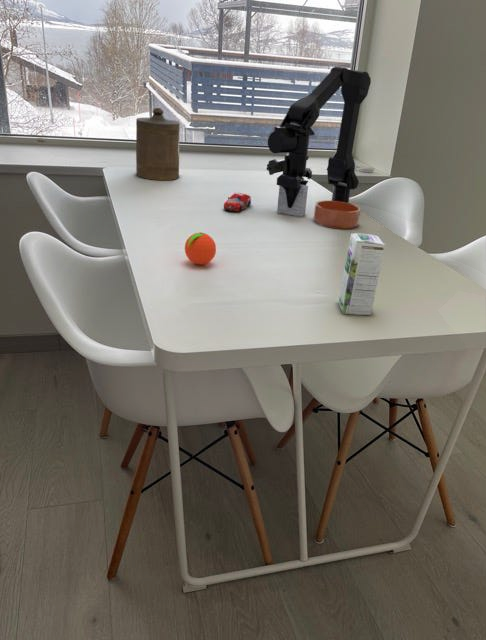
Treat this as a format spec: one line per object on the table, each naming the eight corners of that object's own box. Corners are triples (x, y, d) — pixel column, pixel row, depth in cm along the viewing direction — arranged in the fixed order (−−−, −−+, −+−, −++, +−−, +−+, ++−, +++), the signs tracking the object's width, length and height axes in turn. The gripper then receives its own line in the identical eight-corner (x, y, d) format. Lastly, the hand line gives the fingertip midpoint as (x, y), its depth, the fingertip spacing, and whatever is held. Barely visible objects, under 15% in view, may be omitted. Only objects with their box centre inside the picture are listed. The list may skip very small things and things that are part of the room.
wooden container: (187, 177, 209) (188, 110, 198) (159, 182, 198) (159, 111, 187) (156, 169, 215) (156, 104, 204) (127, 174, 204) (125, 105, 193)
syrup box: (337, 303, 118) (349, 232, 111) (365, 304, 119) (379, 234, 112) (342, 314, 113) (355, 241, 106) (372, 316, 114) (386, 243, 107)
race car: (237, 214, 171) (238, 200, 169) (220, 211, 173) (221, 197, 171) (253, 205, 182) (254, 192, 180) (237, 202, 184) (238, 189, 182)
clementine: (199, 272, 126) (200, 240, 122) (174, 264, 129) (175, 232, 125) (221, 264, 132) (223, 233, 128) (197, 256, 135) (198, 226, 131)
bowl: (318, 214, 180) (321, 198, 178) (360, 221, 177) (363, 205, 175) (309, 224, 169) (311, 207, 166) (353, 232, 166) (356, 214, 164)
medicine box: (305, 214, 179) (308, 185, 174) (301, 217, 175) (304, 188, 171) (281, 210, 181) (283, 181, 176) (276, 213, 177) (279, 183, 172)
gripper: (280, 144, 178) (275, 196, 186) (261, 151, 163) (257, 208, 170) (315, 149, 176) (308, 201, 184) (300, 157, 160) (293, 214, 168)
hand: (291, 206), depth 177 cm, fingers closed on medicine box, 4 cm apart
